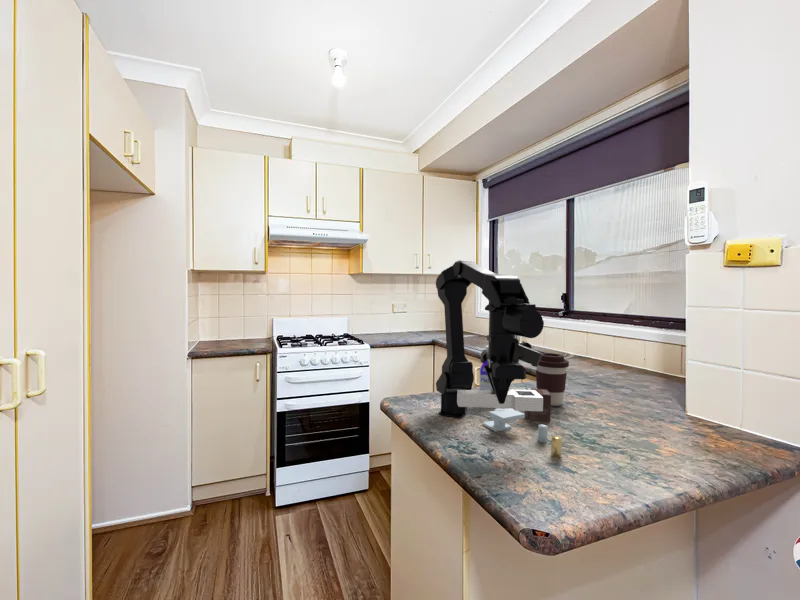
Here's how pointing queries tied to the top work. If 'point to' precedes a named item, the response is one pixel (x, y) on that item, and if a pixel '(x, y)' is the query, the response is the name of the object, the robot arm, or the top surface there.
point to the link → (488, 399)
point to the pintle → (556, 446)
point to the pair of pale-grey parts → (509, 415)
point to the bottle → (484, 377)
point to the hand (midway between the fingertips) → (499, 401)
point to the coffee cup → (552, 376)
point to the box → (546, 411)
